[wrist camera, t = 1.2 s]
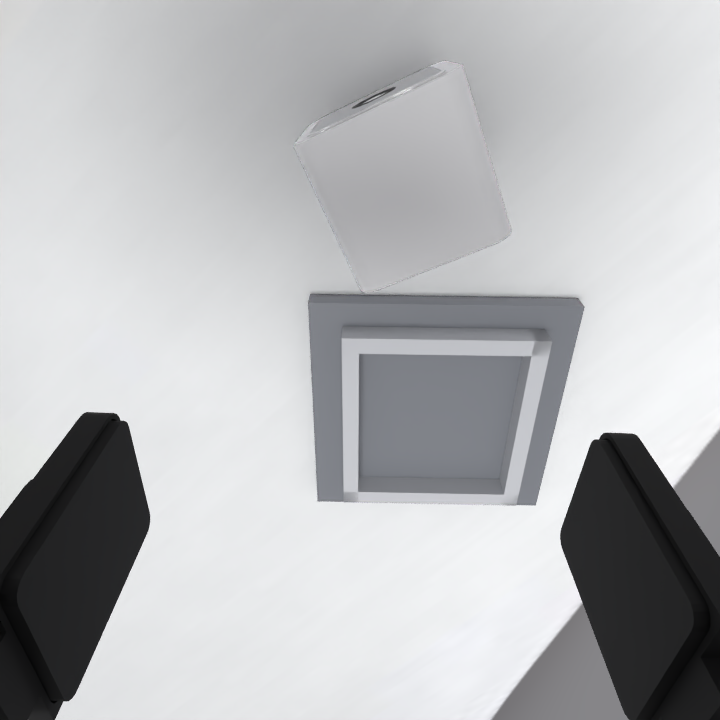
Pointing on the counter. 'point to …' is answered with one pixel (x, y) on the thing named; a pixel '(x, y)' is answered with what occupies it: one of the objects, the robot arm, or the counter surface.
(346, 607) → the counter surface
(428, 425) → the mounting plate
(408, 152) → the security camera
